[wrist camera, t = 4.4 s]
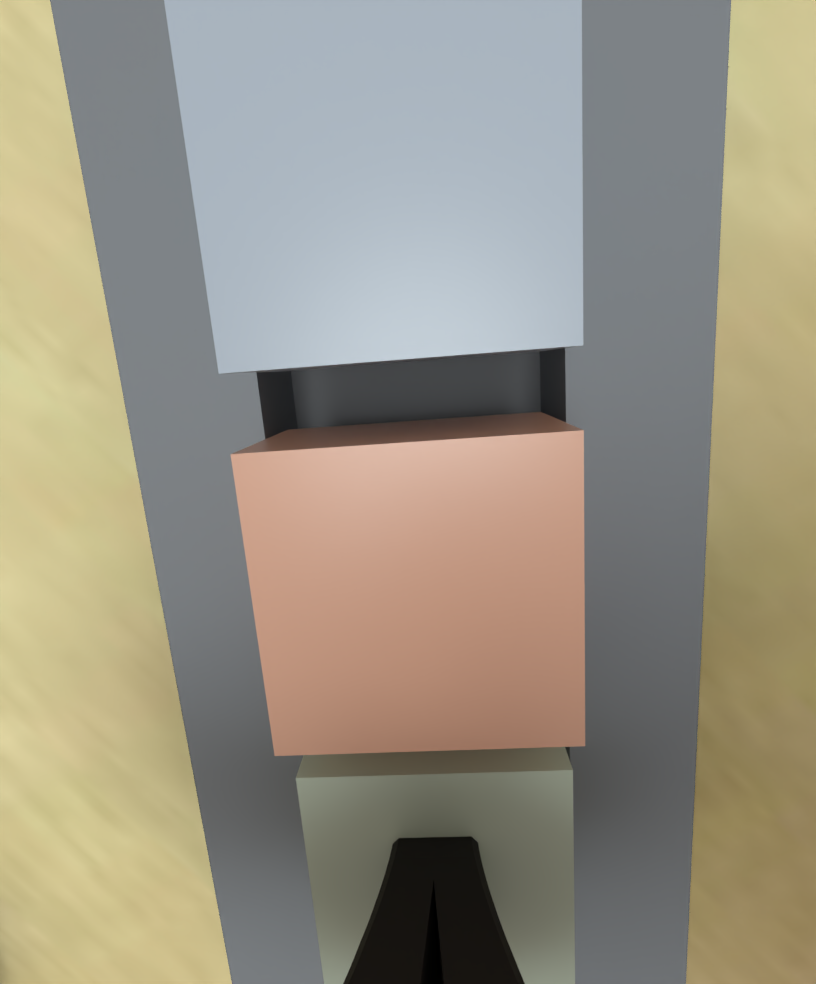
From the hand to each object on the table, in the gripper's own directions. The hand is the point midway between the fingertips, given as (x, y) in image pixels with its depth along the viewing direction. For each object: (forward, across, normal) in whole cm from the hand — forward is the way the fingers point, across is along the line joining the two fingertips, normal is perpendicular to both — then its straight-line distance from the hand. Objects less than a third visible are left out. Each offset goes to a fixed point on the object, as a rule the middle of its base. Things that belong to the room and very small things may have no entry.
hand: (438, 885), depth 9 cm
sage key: (+3, 0, 0) cm, 3 cm away
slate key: (+2, 0, -11) cm, 11 cm away
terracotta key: (+2, 0, -5) cm, 6 cm away
